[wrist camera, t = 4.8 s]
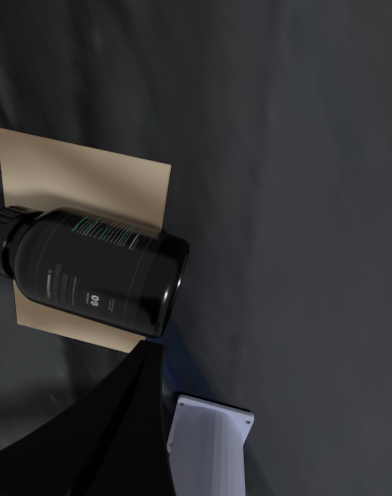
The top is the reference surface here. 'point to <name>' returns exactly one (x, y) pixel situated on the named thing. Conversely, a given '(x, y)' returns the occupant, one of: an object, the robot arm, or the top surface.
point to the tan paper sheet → (83, 196)
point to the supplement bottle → (93, 266)
